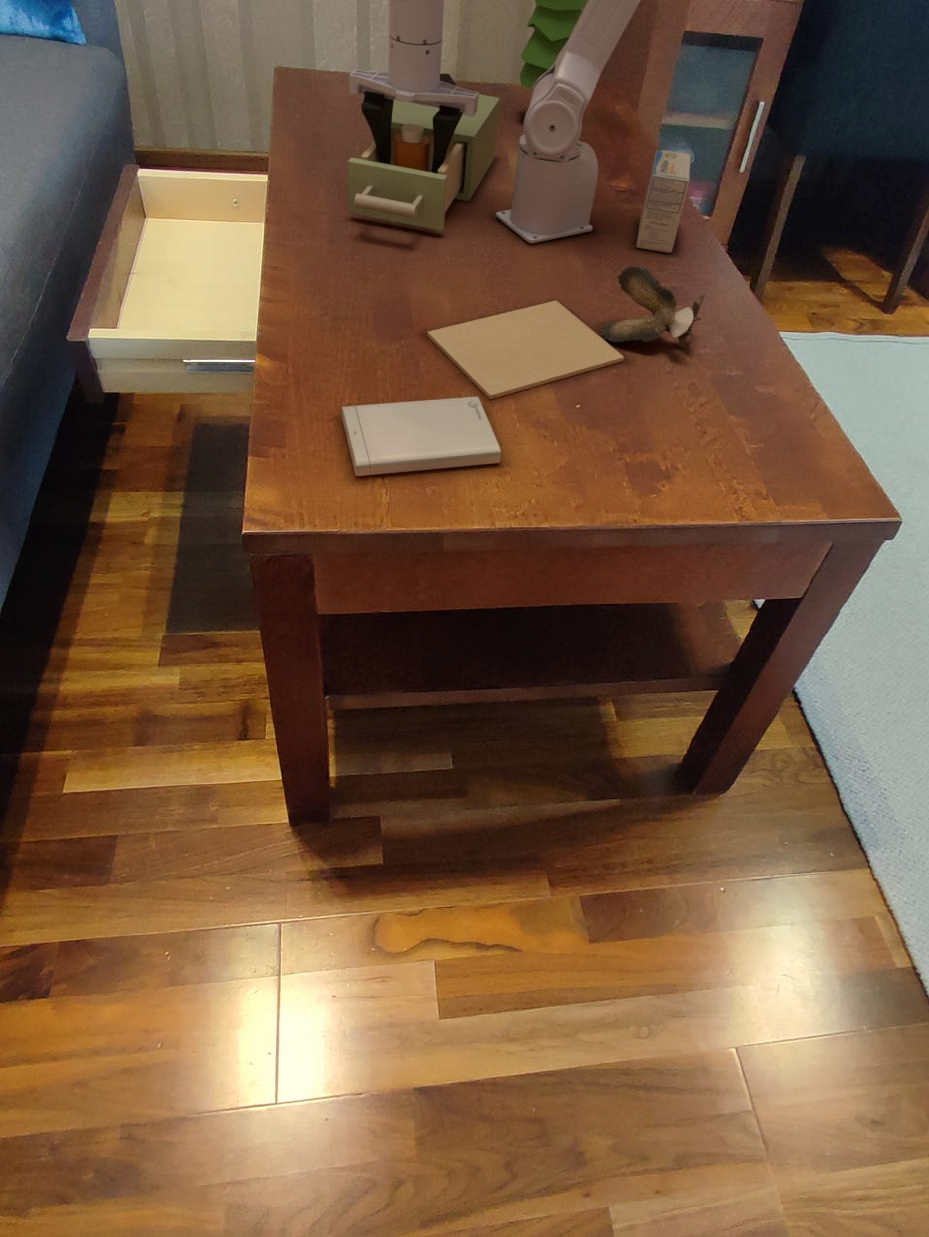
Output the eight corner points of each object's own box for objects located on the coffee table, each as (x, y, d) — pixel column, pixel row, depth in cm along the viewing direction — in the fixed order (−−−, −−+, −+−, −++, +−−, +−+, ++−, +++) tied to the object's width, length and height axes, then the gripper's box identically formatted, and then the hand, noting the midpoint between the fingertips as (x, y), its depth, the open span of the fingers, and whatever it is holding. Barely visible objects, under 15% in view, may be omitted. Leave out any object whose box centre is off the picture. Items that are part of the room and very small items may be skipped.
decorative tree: (501, 119, 125) (529, -151, 102) (535, 104, 130) (569, -155, 108) (555, 138, 122) (596, -136, 99) (588, 123, 127) (634, -141, 104)
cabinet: (468, 201, 105) (474, 136, 100) (373, 183, 107) (373, 118, 101) (494, 159, 115) (500, 97, 109) (406, 143, 116) (408, 81, 110)
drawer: (431, 247, 95) (434, 194, 90) (336, 228, 96) (334, 175, 91) (469, 186, 106) (473, 137, 102) (383, 170, 107) (384, 120, 103)
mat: (555, 304, 90) (556, 300, 90) (623, 361, 84) (624, 356, 84) (427, 335, 84) (427, 331, 84) (489, 399, 78) (490, 395, 77)
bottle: (417, 181, 103) (419, 119, 98) (433, 195, 101) (436, 132, 96) (388, 186, 102) (389, 123, 96) (404, 200, 100) (405, 136, 94)
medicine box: (671, 255, 100) (691, 179, 94) (634, 248, 100) (652, 173, 94) (673, 227, 105) (693, 153, 99) (638, 221, 106) (655, 147, 99)
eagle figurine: (691, 311, 89) (612, 282, 89) (718, 278, 82) (633, 245, 82) (670, 375, 88) (591, 346, 88) (696, 347, 81) (610, 314, 81)
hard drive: (478, 394, 75) (341, 403, 73) (502, 450, 70) (355, 462, 68) (476, 409, 77) (341, 419, 74) (499, 465, 72) (356, 478, 69)
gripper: (338, 35, 87) (342, 171, 98) (472, 59, 86) (461, 194, 96) (360, 17, 92) (361, 149, 102) (487, 40, 91) (475, 171, 101)
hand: (410, 170), depth 100 cm, fingers open, 6 cm apart
